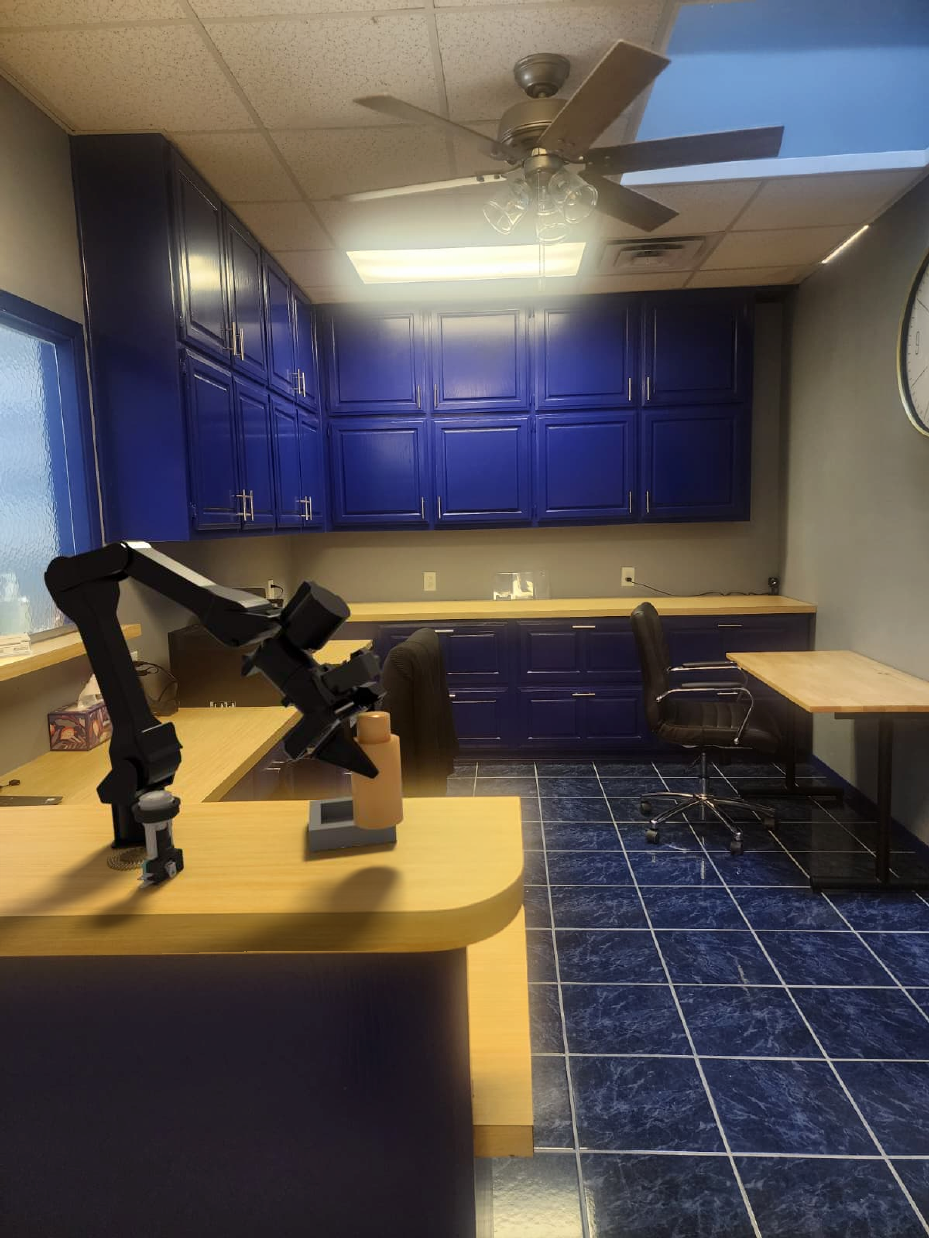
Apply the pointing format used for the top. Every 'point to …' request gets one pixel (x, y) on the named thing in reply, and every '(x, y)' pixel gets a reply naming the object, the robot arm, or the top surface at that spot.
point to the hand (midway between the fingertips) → (386, 767)
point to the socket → (341, 826)
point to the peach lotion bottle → (383, 794)
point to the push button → (159, 836)
